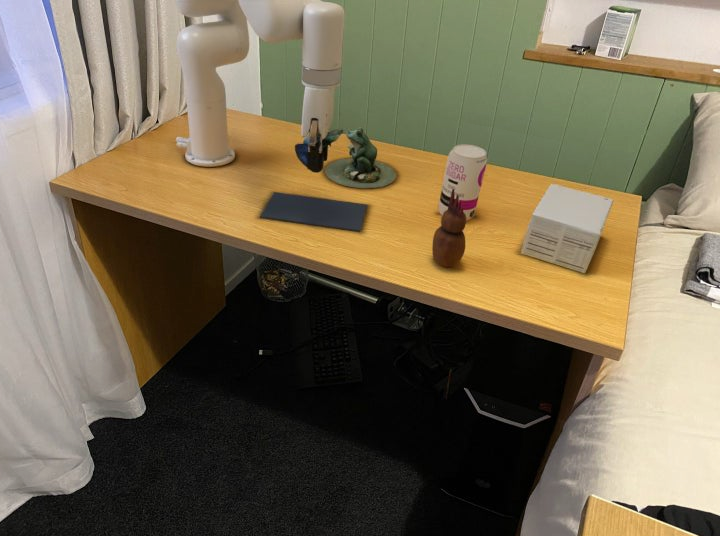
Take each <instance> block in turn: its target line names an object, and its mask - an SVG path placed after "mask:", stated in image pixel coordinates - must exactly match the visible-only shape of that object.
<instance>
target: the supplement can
mask: <svg viewBox="0 0 720 536" xmlns="http://www.w3.org/2000/svg"><path fill="white" fill-rule="evenodd" d="M487 164H488V155H487V151H486V150H485V149H483V148H482V147H480V146H477V145H473V144H462V143H461V144H456V145H454V146H453V147H452V149H451V151H450V152H449V153H448V155H447V160H446V166H445V170H444V174H443V175H444V176H443V181H442V186H441V192H440V196H439V202H438V206H437V210H438V212H439V213H440V215H441V216H442V215H443V213H444V212H445V211H446V210H448V206H449V201H450V197H451V193H452V189H454V199H456V196H457V195H459V200H458V204H459V202H461V208H463V212H464V213H465V215H466V221H469V220H470V219H472V218H473V217H474V216H475V214H476V210H477V206H478V201H479V197H480V193H481V190H482V185H483V180H484V176H485V172H486V168H487Z"/></svg>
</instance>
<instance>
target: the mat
mask: <svg viewBox="0 0 720 536" xmlns="http://www.w3.org/2000/svg"><path fill="white" fill-rule="evenodd" d="M367 209H368V204H367V203H359V202H352V201H344V200H336V199H330V198H329V199H328V198H321V197H313V196H307V195H299V194H291V193H285V192H284V193H283V192H277V191H274V192H273V193H272V195H271V197H270V198H269V200H268V201H267V204H266V205H265V207H264V209H263V210H262V212H261V214H260V216H259V218H260V219H267V220H272V221H280V222H288V223H295V224H302V225H308V226H315V227H322V228H328V229H329V228H330V229H338V230H342V231H351V232H359V233H360V232H361V230H362V226H363V223H364V218H365V215H366V212H367Z"/></svg>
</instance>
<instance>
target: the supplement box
mask: <svg viewBox="0 0 720 536" xmlns="http://www.w3.org/2000/svg"><path fill="white" fill-rule="evenodd" d="M614 201H615V200H614V199H613V198H610V197H606V196H602V195H599V194H594V193H591V192H586V191H583V190H579V189H575V188H570V187H567V186H564V185H560V184H556V183H550V185H549V186H548V188H547V189H546V191H545V193H544V194H543V196H542V197H541V199H540V201H539V203H538V204H537V206H536V207H535V209H534V210H533V212H532V214H531V217H530V220H529V223H528V226H527V228H526V229H527V230H526V233H525V236H524V240H523V243H522V247H521V251H520V254H521V255H524V256H528V257H531V258H534V259H538V260H541V261H543V262H547V263H551V264H554V265H557V266H560V267H563V268H567V269H570V270H572V271H576V272H579V273H582V274H586V272H587V270H588V268H589V266H590V263H591V261H592V258H593V256H594V254H595V251H596V249H597V247H598V244H599V241H600V239H601V236H602V232H603V230H604V227H605V225H606V222H607V219H608V216H609V214H610V211H611V209H612V206H613V204H614Z"/></svg>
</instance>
